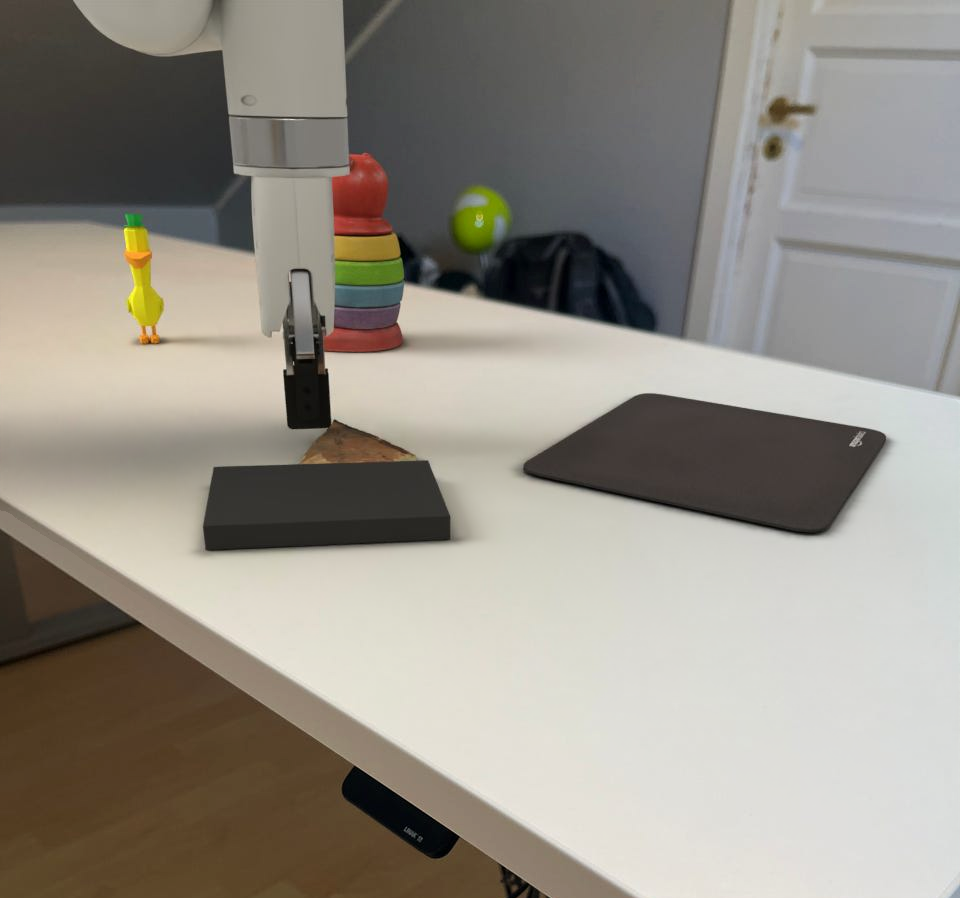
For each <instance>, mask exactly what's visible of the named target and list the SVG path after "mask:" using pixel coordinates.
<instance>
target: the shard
mask: <svg viewBox="0 0 960 898" xmlns="http://www.w3.org/2000/svg"><path fill="white" fill-rule="evenodd" d="M388 461H417V455H416V454H414V453H412V452H410V451H408V450H406V449H405V448H403V447H401V446H399V445H396V444H392V442H390V441H388V440H387V439H383V438H381V437H379V436H378V435H375V434H372V433H369V432H366V431H365V430H362V429H359V428H357V427H352V426H350V425H348V424H346V423H344V422H341V421H339V420H338V419H335V418H334V419H333V420H332V421H331V426H330V427H329V428H326V430H325V432H323V434H321V435H320V436H318V438H317V439H316V440H315V442H314V443H312V444H311V445H310V447H309V448H308V450H306V451H305V453H304V455H303V457H302V460H301V461H300V462H299V464H322V463H355V462H388Z"/></svg>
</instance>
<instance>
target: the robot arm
mask: <svg viewBox="0 0 960 898" xmlns="http://www.w3.org/2000/svg"><path fill="white" fill-rule="evenodd" d="M72 1H73V3H74V4H75V5H76V7H77V8H78V9H79V11H80V12H81V13H82V15H83V16H84V17H85V18H86V19H87V20H88V21H89V23H90V24H91V25H92V26H93V27H94V28H95V29H96V30H97V31H99V33H101V34H102V35H103V36H105V37H106V38H108V39H110V40H111V41H112V42H114V43H116V44H118V45H121V46H123V47H124V48H128V49H132V50H134V51H137V52H138V53H142V54H146V55H149V56H154V57H176V56H185V55H190V54H197V53H205V52H215V51H222V60H223V61H222V62H223V72H224V82H225V92H226V93H225V94H226V103H227V114H228V115H229V117H228V123H229V133H230V145H231V156H232V166H233V167H232V168H233V174H234V175H239V176H247V177H250V179H251V180H250V182H251V183H250V185H251V186H250V191H251V192H250V193H251V197H250V198H251V219H252V221H251V222H252V235H253V247H254V260H255V267H256V268H255V270H256V283H257V293H258V304H259V305H258V306H259V316H260V318H259V319H260V327H261V329H260V331H261V333H262V334H263V335H264V336H265V337H266V338H269V339H271V338H272V335H273V332H276V333H277V332H281V328H282V339H283V344H284V357H285V369H283V370H282V372H283V373H282V374H283V375H282V376H283V377H282V378H283V389H284V398H285V399H284V400H285V414H286V425H287V428H288V429H289V430H315V429H316V430H317V429H328V428H329V427H330V426H331V424H332V410H331V395H330V394H331V392H330V374H329V373H330V372H329V368H326V359H325V358H326V357H325V356H326V355H325V350H324V332H325V337H327V336H328V335H329V334H331V333H332V332H333V330H334V307H335V242H334V214H333V193H332V177H338V176H346V175H349V174H350V166H349V154H350V147H349V123H348V121H349V119H348V118H347V117H348V101H347V100H348V97H347V75H346V74H347V73H346V51H345V49H346V47H345V27H344V25H345V23H344V22H345V21H344V1H343V0H72ZM323 330H324V332H323Z"/></svg>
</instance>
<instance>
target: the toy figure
mask: <svg viewBox="0 0 960 898" xmlns="http://www.w3.org/2000/svg"><path fill="white" fill-rule="evenodd" d="M124 216H125V220H126V223H127V224H124V225H123V227H125V228H123V234H124V242H125V243H124V244H125V248H126V250H124V251H123V255H124V259H125V261H126V262H127V263H128V264H129V268H130V272H131V275H132V279H133V284H134V287H133V289H132V291H131V292H130V293H129V296H128V297H127V298H125V302H126V309H127V312H128V313H130V314H131V316H132V317H133V318H134V320H135V321H136V322H137V323H138V325H139V326H140V327H141V334H140V335H139V343H140V344H142V345H143V344H144V345H145V344H149V343H151V344H159V343H160V335H159V334H157V328H156V326H157V324H158V322H159V321H160V319H161V317H162V315H163V312H164V310H165V303H164V298H163V297H161V296H160V295H159V294H158V292H157V291H156V290H155V289H154V288H153V286H152V283H151V282H152V273H151V271H152V270H151V263H152V261H151V260H152V259H153V250H150V249H151V247H150V242H149V234H148V229H147V228H146V227H147V224H143V213H126V214H124ZM146 327H151V334H150V335H149V334H147V329H146Z"/></svg>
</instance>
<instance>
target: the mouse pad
mask: <svg viewBox="0 0 960 898" xmlns="http://www.w3.org/2000/svg"><path fill="white" fill-rule="evenodd" d="M886 439H887V436H886V433H884V432H881V431H879V430H877V429H873V428H867V427H863V426H856V425H850V424H844V423H839V422H832V421H826V420H820V419H813V418H808V417H802V416H797V415H790V414H784V413H779V412H778V413H777V412H773V411H766V410H760V409H754V408H747V407H741V406H736V405H730V404H724V403H718V402H712V401H705V400H699V399H692V398H688V397H681V396H676V395H669V394H662V393H653V392H646V393H639V394H637V395H634V396H632V397H631V398H629V399H628V400H626V401H624V402H622V403H621V404H619V405H618V406H615V407H614V408H612V409H611V410H609V411H608V412H606V413H604V414H602V415H601V416H599V417H597V418H595V419H594V420H592V421H591V422H589V423H587V424H585V425H584V426H582V427H581V428H579V429H577V430H576V431H574V432H573V433H571V434H569V435H567V436H566V437H564V438H563V439H561V440H559V441H557V442H555V443H554V444H553V445H551V446H549V447H547V448H546V449H545V450H542V451H541V452H539V453H538V454H536V455H535V456H533V457H531V458H529V459H528V460H526V461H525V462H524V463H523V467H522V469H523V470H524V472H526V473H528V474H530V475H534V476H537V477H541V478H546V479H551V480H555V481H559V482H564V483H569V484H574V485H578V486H582V487H588V488H592V489H597V490H601V491H606V492H611V493H614V494H615V493H616V494H621V495H625V496H629V497H634V498H639V499H644V500H647V501H648V500H649V501H652V502H658V503H662V504H666V505H672V506H676V507H680V508H686V509H691V510H695V511H699V512H705V513H709V514H714V515H719V516H723V517H727V518H733V519H737V520H743V521H746V522H751V523H756V524H760V525H765V526H770V527H773V528H779V529H783V530H788V531H794V532H800V533H817V532H821V531H824V530H826V529H828V528H829V527H830V526H831V524H832V522H833V521H834V519H835V517H836V516H837V515H838V513H839V512H840V510H841V509H842V507H843V506H844V504H845V503H846V501H847V500H848V498H849V497H850V495H851V494H852V492H853V491H854V489H855V488H856V486H857V485H858V483H859V482H860V480H861V479H862V477H863V475H864V474H865V472H866V471H867V470H868V468H869V466H870V465H871V464H872V461H873V460H874V459H875V457H876V456H877V454H878V452H879V451H880V450H881V448H882V446H883V445H884V443H885V442H886Z"/></svg>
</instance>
